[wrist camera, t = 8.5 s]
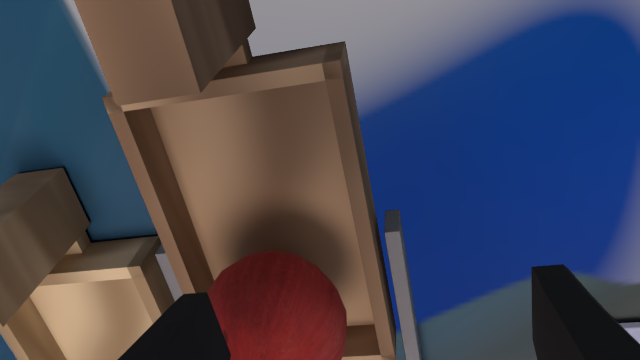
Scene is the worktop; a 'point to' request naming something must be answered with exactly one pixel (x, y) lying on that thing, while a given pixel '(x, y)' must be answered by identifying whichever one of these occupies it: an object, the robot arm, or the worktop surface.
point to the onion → (279, 309)
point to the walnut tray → (244, 150)
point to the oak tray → (70, 276)
